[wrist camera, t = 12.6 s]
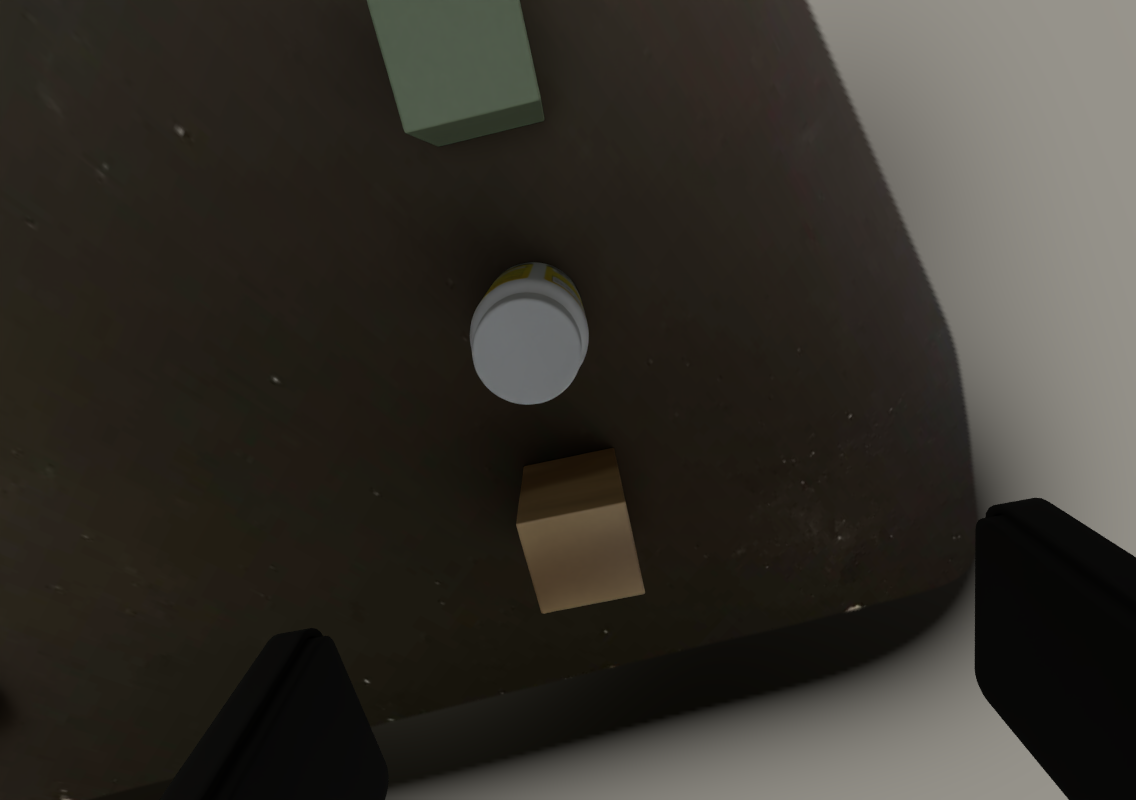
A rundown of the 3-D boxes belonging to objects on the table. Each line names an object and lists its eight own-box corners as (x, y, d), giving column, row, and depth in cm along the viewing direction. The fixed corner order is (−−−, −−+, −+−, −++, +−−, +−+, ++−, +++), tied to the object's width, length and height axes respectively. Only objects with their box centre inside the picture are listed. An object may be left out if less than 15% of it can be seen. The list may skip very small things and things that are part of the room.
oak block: (523, 465, 32) (515, 524, 26) (613, 446, 31) (625, 501, 26) (544, 543, 33) (541, 614, 28) (630, 526, 33) (645, 594, 27)
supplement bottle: (480, 348, 30) (451, 404, 22) (492, 253, 28) (466, 276, 20) (574, 363, 30) (579, 423, 22) (591, 270, 28) (603, 299, 20)
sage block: (403, 22, 25) (357, -29, 19) (517, -8, 25) (505, -69, 19) (437, 147, 27) (404, 133, 21) (545, 120, 26) (541, 100, 21)
